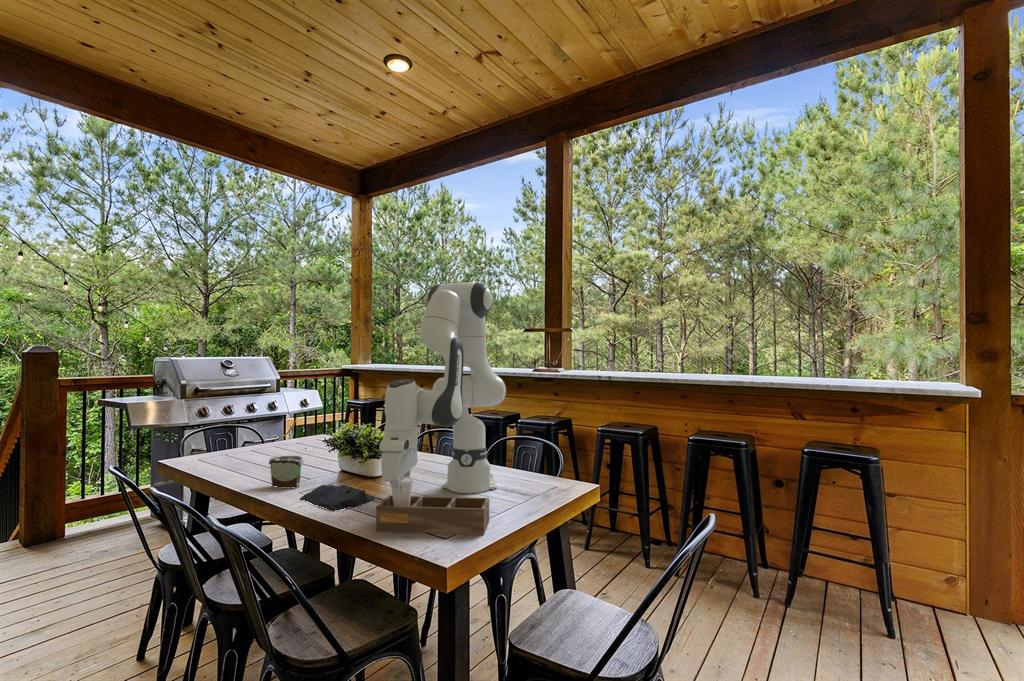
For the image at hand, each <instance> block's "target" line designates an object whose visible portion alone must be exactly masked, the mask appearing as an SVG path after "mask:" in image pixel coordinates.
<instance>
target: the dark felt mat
mask: <svg viewBox="0 0 1024 681" xmlns="http://www.w3.org/2000/svg"><path fill="white" fill-rule="evenodd" d="M299 499H300V500H305V501H308V502H310V503H312V504H314V505H318V506H321V507H324V508H327V509H329V510H332V511H331V512H336V511H335V510H341V509H344V508H348V507H353V508H356V506H357V507H360V506H363V505H362V504H364V505H366V504H368V503H369V502H370V501H371V500H372V501H374V500H375V496H372V495H370V494H368V493H366V490H365V489H359V488H354V487H352V486H348V485H346V484H342V485H339V486H337V485H332V484H330V485H328V484H322V485H320V486H318V487H316V488H314V489H313V490H312V491H310V492H307V493H305V494H304V495H302V496H301V497H300V498H299ZM300 500H299V501H300ZM372 501H371V502H372ZM367 502H368V503H367ZM365 503H366V504H365ZM314 505H313V506H314ZM359 505H360V506H359ZM324 508H323V509H324ZM327 509H326V510H327ZM329 510H328V511H329Z"/></svg>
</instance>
